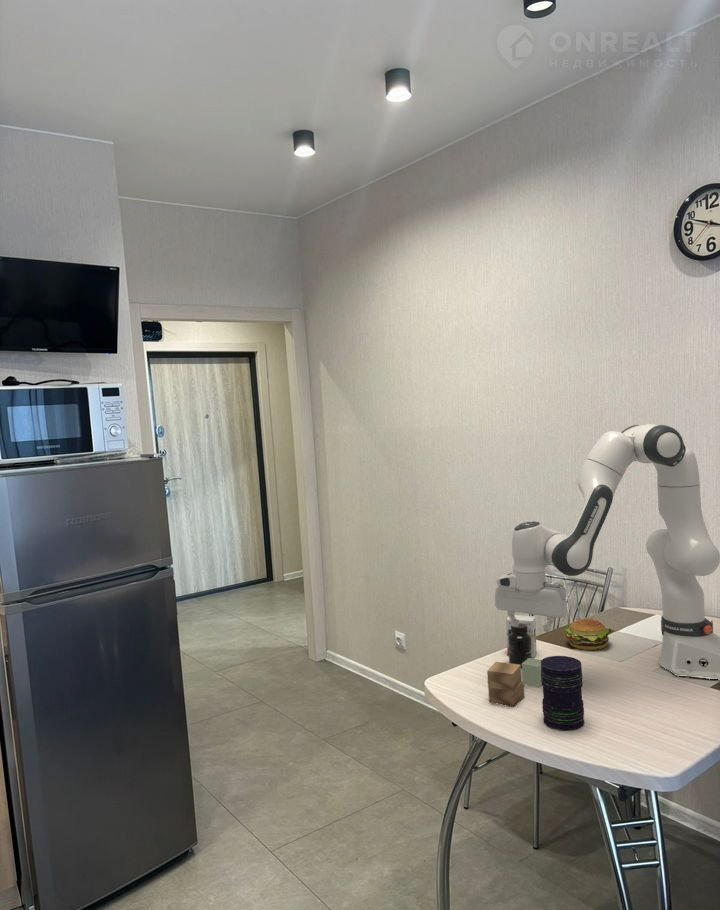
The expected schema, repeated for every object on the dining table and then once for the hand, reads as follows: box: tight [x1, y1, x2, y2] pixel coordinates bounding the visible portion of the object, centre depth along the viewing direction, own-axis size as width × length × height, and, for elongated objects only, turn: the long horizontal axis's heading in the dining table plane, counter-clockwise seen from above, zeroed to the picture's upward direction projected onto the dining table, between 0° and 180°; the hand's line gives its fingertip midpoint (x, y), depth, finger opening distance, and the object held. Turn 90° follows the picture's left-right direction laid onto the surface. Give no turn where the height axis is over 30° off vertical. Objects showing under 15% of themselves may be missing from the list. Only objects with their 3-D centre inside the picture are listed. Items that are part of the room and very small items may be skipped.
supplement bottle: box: [508, 624, 533, 669], centre depth 211 cm, size 7×7×12 cm
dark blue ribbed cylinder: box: [540, 655, 585, 732], centre depth 172 cm, size 10×10×15 cm
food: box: [564, 618, 612, 651], centre depth 224 cm, size 14×14×8 cm
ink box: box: [505, 614, 538, 658], centre depth 219 cm, size 9×5×12 cm, turn 68°
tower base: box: [487, 680, 525, 708], centre depth 187 cm, size 7×7×4 cm
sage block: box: [521, 657, 543, 688], centre depth 197 cm, size 5×5×6 cm
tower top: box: [486, 661, 522, 691], centre depth 187 cm, size 7×7×4 cm
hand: (531, 628), depth 196 cm, fingers open, 8 cm apart
